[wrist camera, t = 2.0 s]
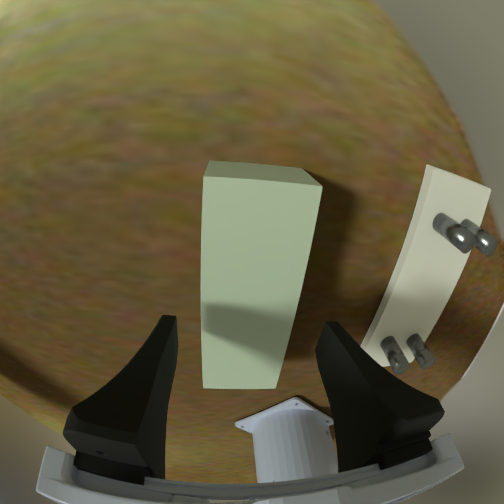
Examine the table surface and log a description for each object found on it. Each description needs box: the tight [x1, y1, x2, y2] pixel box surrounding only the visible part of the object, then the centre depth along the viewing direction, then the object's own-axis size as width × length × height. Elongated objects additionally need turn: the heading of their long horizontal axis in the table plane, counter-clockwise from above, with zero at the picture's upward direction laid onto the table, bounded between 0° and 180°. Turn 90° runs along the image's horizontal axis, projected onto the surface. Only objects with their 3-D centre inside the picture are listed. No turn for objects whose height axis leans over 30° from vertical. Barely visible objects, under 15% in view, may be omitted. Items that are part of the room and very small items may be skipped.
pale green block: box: [201, 161, 323, 389], centre depth 16 cm, size 14×5×4 cm, turn 174°
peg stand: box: [360, 164, 497, 375], centre depth 18 cm, size 18×7×4 cm, turn 173°
